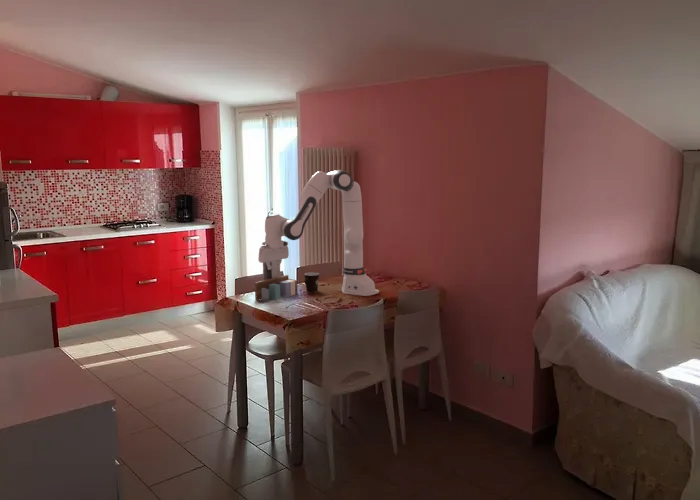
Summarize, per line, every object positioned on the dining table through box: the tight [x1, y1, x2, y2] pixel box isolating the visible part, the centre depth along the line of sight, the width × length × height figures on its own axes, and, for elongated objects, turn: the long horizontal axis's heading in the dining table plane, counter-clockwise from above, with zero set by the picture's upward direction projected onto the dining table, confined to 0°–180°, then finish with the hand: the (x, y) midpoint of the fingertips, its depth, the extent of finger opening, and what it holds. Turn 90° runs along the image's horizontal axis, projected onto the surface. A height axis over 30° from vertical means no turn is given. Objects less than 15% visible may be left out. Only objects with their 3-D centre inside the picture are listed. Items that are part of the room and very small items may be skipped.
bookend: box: [255, 288, 270, 304], centre depth 322 cm, size 5×5×7 cm
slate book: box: [279, 281, 291, 298], centre depth 336 cm, size 5×4×8 cm
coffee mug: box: [304, 272, 320, 293], centre depth 347 cm, size 12×9×10 cm
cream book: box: [286, 279, 296, 297], centre depth 339 cm, size 5×4×8 cm
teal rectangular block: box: [269, 283, 281, 301], centre depth 330 cm, size 5×4×8 cm
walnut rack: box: [254, 274, 299, 301], centre depth 333 cm, size 8×25×10 cm, turn 142°
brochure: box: [261, 241, 281, 281], centre depth 343 cm, size 14×6×30 cm, turn 168°
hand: (274, 268), depth 327 cm, fingers open, 5 cm apart
